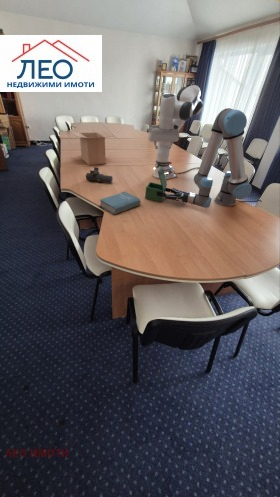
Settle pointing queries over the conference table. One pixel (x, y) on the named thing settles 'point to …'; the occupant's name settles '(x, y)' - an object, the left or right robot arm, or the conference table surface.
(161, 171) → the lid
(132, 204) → the book
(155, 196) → the chest
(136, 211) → the conference table surface
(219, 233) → the conference table surface
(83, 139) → the box
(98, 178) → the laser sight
